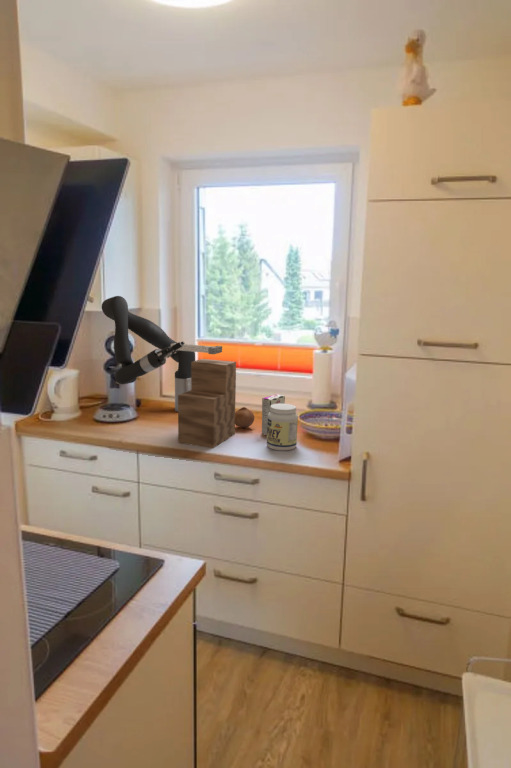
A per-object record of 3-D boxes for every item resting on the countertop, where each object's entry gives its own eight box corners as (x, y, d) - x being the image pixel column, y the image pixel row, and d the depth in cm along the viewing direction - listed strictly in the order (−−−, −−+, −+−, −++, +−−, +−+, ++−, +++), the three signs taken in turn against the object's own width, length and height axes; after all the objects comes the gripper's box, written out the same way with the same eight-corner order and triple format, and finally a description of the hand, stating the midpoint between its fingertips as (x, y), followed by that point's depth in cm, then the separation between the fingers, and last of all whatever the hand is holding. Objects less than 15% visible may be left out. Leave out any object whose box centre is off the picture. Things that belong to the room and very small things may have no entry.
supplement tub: (260, 446, 206) (261, 405, 203) (280, 440, 215) (282, 401, 212) (282, 453, 198) (284, 411, 195) (302, 447, 206) (304, 406, 203)
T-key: (176, 348, 223) (176, 342, 223) (222, 352, 216) (222, 346, 215) (167, 350, 216) (167, 344, 216) (213, 354, 208) (213, 348, 208)
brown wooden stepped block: (202, 429, 227) (202, 358, 221) (234, 434, 221) (236, 361, 215) (178, 442, 208) (177, 365, 202) (213, 448, 202) (214, 369, 196)
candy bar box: (275, 428, 231) (276, 393, 228) (284, 430, 228) (285, 395, 225) (260, 434, 223) (261, 397, 219) (269, 436, 220) (271, 399, 216)
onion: (240, 432, 224) (240, 410, 222) (229, 427, 232) (229, 406, 230) (258, 429, 229) (258, 408, 227) (246, 424, 237) (247, 403, 235)
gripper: (140, 355, 218) (170, 337, 211) (157, 351, 231) (186, 334, 224) (147, 370, 218) (178, 353, 211) (164, 366, 231) (194, 349, 224)
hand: (182, 343), depth 217 cm, fingers closed on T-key, 2 cm apart
